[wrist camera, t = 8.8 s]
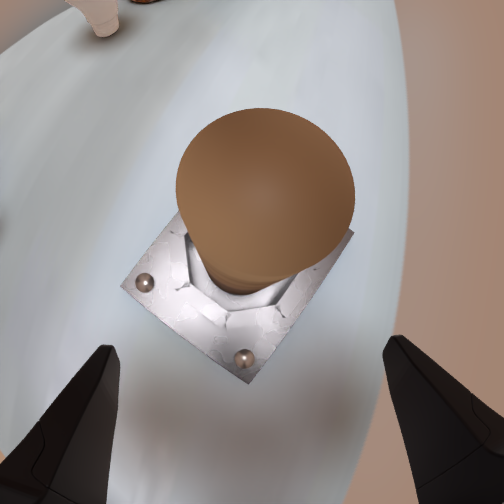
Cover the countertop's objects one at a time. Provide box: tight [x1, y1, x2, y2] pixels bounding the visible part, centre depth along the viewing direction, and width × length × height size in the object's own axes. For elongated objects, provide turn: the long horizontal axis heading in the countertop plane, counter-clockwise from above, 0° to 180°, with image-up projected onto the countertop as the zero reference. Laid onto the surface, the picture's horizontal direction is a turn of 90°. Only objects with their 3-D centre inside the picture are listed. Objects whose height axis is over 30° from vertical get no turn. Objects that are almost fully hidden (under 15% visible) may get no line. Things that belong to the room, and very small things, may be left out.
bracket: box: [120, 211, 354, 384], centre depth 19 cm, size 12×10×4 cm
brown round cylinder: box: [176, 108, 355, 296], centre depth 14 cm, size 4×4×12 cm
